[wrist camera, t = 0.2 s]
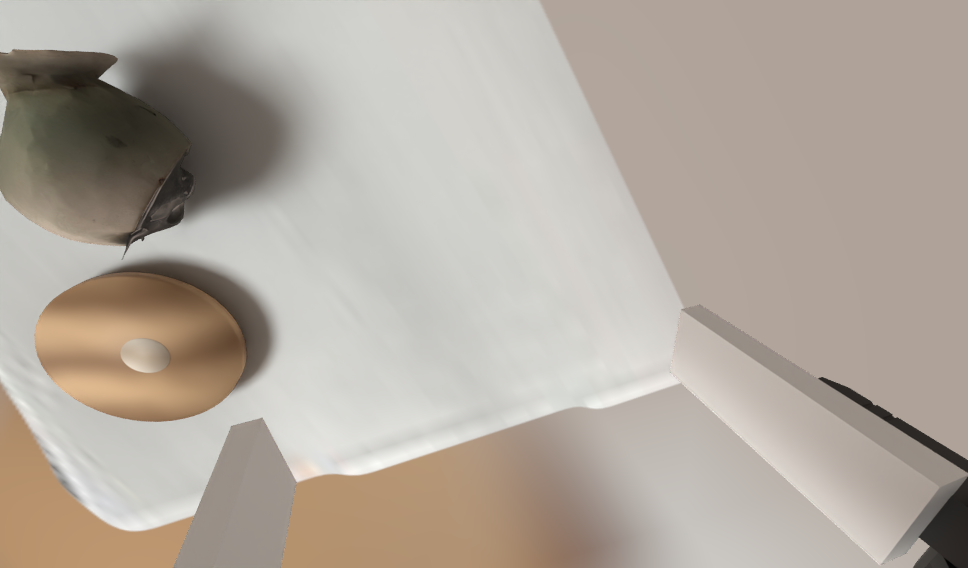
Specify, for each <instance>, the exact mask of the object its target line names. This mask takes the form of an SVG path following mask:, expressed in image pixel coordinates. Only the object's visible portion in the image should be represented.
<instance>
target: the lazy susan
mask: <svg viewBox="0 0 968 568" xmlns="http://www.w3.org/2000/svg"><path fill="white" fill-rule="evenodd" d="M35 347H36V351H37V355H38V358H39V360H40V362H41V364H42V366H43V368H44V369H45V371H46V372H47V374H48V375H49V376H50V378H51V379H52V380H53V381H54V382H55V383H56V384H57V385H58V386H59V387H60V388H61V389H62V390H63V391H65V392H66V393H67V394H69V395H70V396H72V397H73V398H74V399H76V400H78V401H79V402H81V403H83V404H85V405H87V406H89V407H91V408H93V409H95V410H98V411H100V412H103V413H106V414H109V415H112V416H116V417H120V418H125V419H130V420H137V421H153V422H161V421H173V420H178V419H184V418H188V417H191V416H195V415H197V414H200V413H203V412H205V411H207V410H209V409H211V408H213V407H214V406H216V405H217V404H219V403H220V402H221V401H223V400H224V399H225V398H226V397H227V396H228V395H229V394H230V392H231V391H232V390H233V389H234V387H235V385H236V384H237V382H238V380H239V378H240V377H241V375H242V373H243V370H244V367H245V363H246V344H245V339H244V336H243V334H242V331H241V329H240V327H239V326H238V324H237V322H236V321H235V319H234V318H233V317H232V315H231V314H230V313H229V312H228V311H227V310H226V309H225V308H224V307H223V306H222V305H221V304H220V303H219V302H217V301H216V300H215V299H214V298H212V297H211V296H209V295H208V294H206V293H205V292H203V291H201V290H199V289H198V288H196V287H194V286H192V285H189V284H187V283H184V282H182V281H180V280H176V279H173V278H170V277H166V276H161V275H156V274H151V273H141V272H121V273H111V274H106V275H101V276H97V277H94V278H91V279H88V280H86V281H84V282H82V283H80V284H78V285H76V286H74V287H72V288H70V289H68V290H66V291H65V292H63V293H62V294H60V295H59V296H57V297H56V298H55V299H53V300H52V301H51V302H50V303H49V304H48V305H47V307H46V308H45V309H44V311H43V312H42V314H41V315H40V317H39V320H38V322H37V325H36V330H35Z"/></svg>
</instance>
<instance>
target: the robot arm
mask: <svg viewBox="0 0 968 568" xmlns="http://www.w3.org/2000/svg"><path fill="white" fill-rule="evenodd" d="M670 373H671V374H672V375H673V376H674V377H675V378H676V379H678V380H679V381H680V382H681V383H682V384H683V385H684V386H685V387H686V388H687V389H688V390H690V391H691V392H692V393H693V394H694V395H695V396H696V397H697V398H698V399H699V400H701V402H703V403H704V404H705V405H706V406H707V407H708V408H709V409H710V410H711V411H713V413H715V414H716V415H717V416H718V417H719V418H720V419H721V420H722V421H723V422H724V423H725V424H727V425H728V426H729V427H730V428H731V429H732V430H733V431H734V432H735V433H736V434H738V435H739V436H740V437H741V438H742V439H743V440H744V441H745V442H746V443H747V444H748V445H749V446H751V447H752V448H753V449H754V450H755V451H756V452H757V453H758V454H759V455H760V456H761V457H762V458H764V459H765V460H766V461H767V462H768V463H769V464H770V465H771V466H772V467H773V468H774V469H776V470H777V471H778V472H779V473H780V474H781V475H782V476H783V477H784V478H785V479H786V480H788V481H789V482H790V483H791V484H792V485H793V486H794V487H795V488H796V489H797V490H799V491H800V492H801V493H802V494H803V495H804V496H805V497H806V498H807V499H808V500H809V501H810V502H812V503H813V504H814V505H815V506H816V507H817V508H818V509H819V510H820V511H821V512H822V513H824V514H825V515H826V516H827V517H828V518H829V519H830V520H831V521H832V522H833V523H834V524H836V525H837V526H838V527H839V528H840V529H841V530H842V531H843V532H844V533H845V534H846V535H847V536H849V537H850V538H851V539H852V540H853V541H854V542H855V543H856V544H857V545H858V546H859V547H861V548H862V549H863V550H864V551H865V552H866V553H867V554H868V555H869V556H870V557H871V558H872V559H874V560H875V561H876V562H877V563H878V564H879V565H882V564H884V563H886V562H889V561H891V560H893V559H895V558H897V557H899V556H902V555H904V554H906V553H907V552H908V550H909V549H910V548H911V546H912V545H913V544H914V543H915V542H916V541H917V539H918V538H921V539H922V540H923V541H924V542H926V543H927V544H928V545H929V546H930V547H929V548H928V549H927V551H926V552H925V553H924V554H923V555H922V556H921V558H920V559H919V560H918V561H917V562H916V564H915V565H914V567H913V568H968V460H967V459H965V458H963V457H962V456H960V455H958V454H957V453H955V452H953V451H952V450H950V449H949V448H947V447H945V446H944V445H942V444H940V443H939V442H937V441H935V440H934V439H932V438H930V437H929V436H927V435H925V434H924V433H922V432H921V431H919V430H917V429H916V428H914V427H912V426H911V425H909V424H907V423H906V422H904V421H903V420H901V419H899V418H894V417H893V416H892V414H891V413H889V412H887V411H886V410H884V409H883V408H881V407H880V406H878V405H876V406H875V405H873V403H872V402H871V401H870V400H868V399H866V398H865V397H863V396H861V395H860V394H858V393H856V392H855V391H853V390H851V389H850V388H848V387H846V386H843V385H841V384H838V383H836V382H833V381H831V380H828V379H826V378H823V377H821V378H816V377H814V376H812V375H811V374H809V373H808V372H806V371H805V370H803V369H802V368H800V367H798V366H797V365H795V364H794V363H792V362H791V361H789V360H787V359H786V358H784V357H783V356H781V355H779V354H778V353H776V352H775V351H773V350H771V349H770V348H768V347H767V346H765V345H763V344H762V343H760V342H759V341H757V340H756V339H754V338H752V337H751V336H749V335H748V334H746V333H744V332H743V331H741V330H740V329H738V328H737V327H735V326H733V325H732V324H730V323H729V322H727V321H725V320H724V319H722V318H721V317H719V316H718V315H716V314H714V313H713V312H711V311H709V310H708V309H706V308H704V307H703V306H701V305H697V306H693V307H689V308H685V309H681V312H680V318H679V323H678V329H677V334H676V340H675V346H674V351H673V357H672V363H671V368H670ZM296 483H297V482H296V480H295V478H294V476H293V475H292V473H291V471H290V469H289V467H288V465H287V463H286V461H285V459H284V458H283V456H282V454H281V452H280V450H279V448H278V446H277V444H276V442H275V441H274V439H273V437H272V435H271V433H270V431H269V429H268V427H267V425H266V424H265V422H264V420H263V418H260V419H256V420H253V421H249V422H245V423H241V424H237V425H233V426H231V429H230V431H229V433H228V436H227V438H226V441H225V443H224V446H223V448H222V450H221V453H220V455H219V458H218V460H217V463H216V465H215V467H214V470H213V472H212V475H211V477H210V479H209V482H208V484H207V487H206V489H205V492H204V494H203V496H202V499H201V501H200V504H199V506H198V509H197V511H196V513H195V516H194V518H193V521H192V523H191V526H190V528H189V530H188V533H187V535H186V538H185V540H184V543H183V545H182V547H181V550H180V552H179V555H178V557H177V560H176V562H175V564H174V567H173V568H281V564H282V558H283V553H284V548H285V542H286V537H287V531H288V526H289V520H290V515H291V510H292V504H293V499H294V493H295V488H296Z"/></svg>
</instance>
